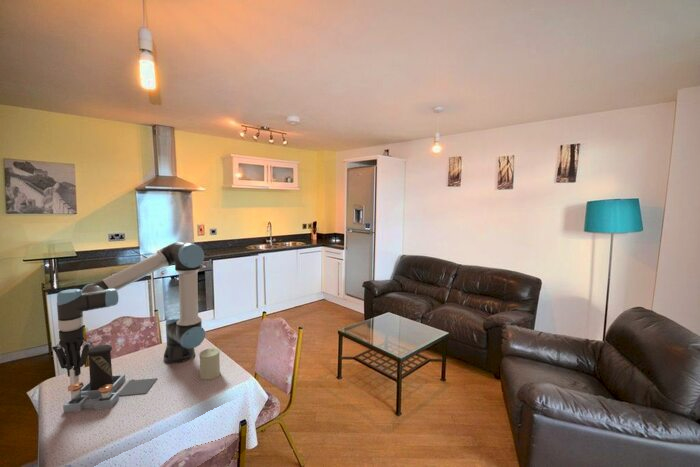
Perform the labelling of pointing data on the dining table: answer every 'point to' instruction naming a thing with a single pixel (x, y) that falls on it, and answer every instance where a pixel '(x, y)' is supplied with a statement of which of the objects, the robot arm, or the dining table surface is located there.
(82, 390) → the filter socket
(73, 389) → the plunger
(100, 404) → the plunger base
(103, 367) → the container
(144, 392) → the pad
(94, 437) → the dining table surface
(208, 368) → the can
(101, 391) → the plunger
